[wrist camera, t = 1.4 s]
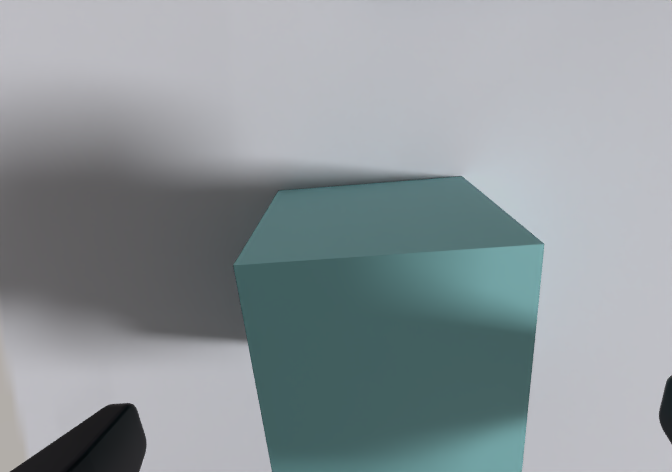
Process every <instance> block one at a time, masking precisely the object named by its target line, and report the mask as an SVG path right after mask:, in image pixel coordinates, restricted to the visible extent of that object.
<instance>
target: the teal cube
mask: <svg viewBox="0 0 672 472" xmlns="http://www.w3.org/2000/svg"><path fill="white" fill-rule="evenodd" d="M543 252H544V243H543V242H541V241H540V240H539V239H538V238H536V237H535V236H534V235H533V234H532V233H530V232H529V231H528V230H527V229H526V228H524V227H523V226H522V225H521V224H519V223H518V222H517V221H516V220H515V219H513V218H512V217H511V216H510V215H508V214H507V213H506V212H505V211H504V210H502V209H501V208H500V207H499V206H498V205H496V204H495V203H494V202H493V201H491V200H490V199H489V198H488V197H487V196H485V195H484V194H483V193H482V192H481V191H479V190H478V189H477V188H476V187H474V186H473V185H472V184H471V183H470V182H468V181H467V180H466V179H465V178H464V177H462V176H460V177H447V178H434V179H421V180H408V181H396V182H383V183H370V184H357V185H344V186H331V187H318V188H306V189H293V190H280V191H278V192H277V194H276V196H275V197H274V199H273V201H272V202H271V204H270V206H269V207H268V209H267V211H266V212H265V214H264V216H263V217H262V219H261V221H260V222H259V224H258V225H257V227H256V229H255V230H254V232H253V234H252V235H251V237H250V239H249V240H248V242H247V244H246V245H245V247H244V249H243V250H242V252H241V253H240V255H239V257H238V258H237V260H236V262H235V263H234V265H233V267H234V272H235V277H236V283H237V288H238V293H239V298H240V304H241V309H242V314H243V320H244V325H245V330H246V336H247V341H248V346H249V351H250V357H251V362H252V367H253V373H254V378H255V383H256V389H257V394H258V399H259V404H260V410H261V415H262V420H263V426H264V431H265V436H266V442H267V447H268V452H269V458H270V463H271V468H272V472H522V463H523V453H524V443H525V433H526V423H527V413H528V403H529V393H530V383H531V373H532V363H533V353H534V343H535V333H536V323H537V313H538V303H539V292H540V282H541V272H542V262H543Z"/></svg>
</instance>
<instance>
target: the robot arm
mask: <svg viewBox="0 0 672 472" xmlns="http://www.w3.org/2000/svg"><path fill="white" fill-rule="evenodd" d="M659 420H660V424H661V426H662V429H663V430H664V432H665V434H666V436H667V437H668V439H669V440H670V442H671V444H672V376H670V377H669V378H668V379H667V382H666V385H665V390H664V394H663V398H662V402H661V406H660V411H659ZM145 452H146V437H145V433H144V430H143V427H142V424H141V421H140V418H139V414H138V411H137V409H136V407H135V406H134V405H133V404H130V403H122V404H110V405H107V406H106V407H104V408H102V409H101V410H100V411H98V412H97V413H95V414H94V415H92V416H91V417H89V418H88V419H86V420H85V421H83V422H82V423H81V424H79V425H78V426H76V427H75V428H73V429H72V430H70V431H69V432H67V433H66V434H64V435H63V436H62V437H60V438H59V439H57V440H56V441H54V442H53V443H51V444H50V445H48V446H47V447H45V448H44V449H43V450H41V451H40V452H38V453H37V454H35V455H34V456H32V457H31V458H29V459H28V460H26V461H25V462H24V463H22V464H21V465H19V466H18V467H16V468H15V469H13V470H12V471H10V472H139V471H140V468H141V465H142V462H143V459H144V456H145Z"/></svg>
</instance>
